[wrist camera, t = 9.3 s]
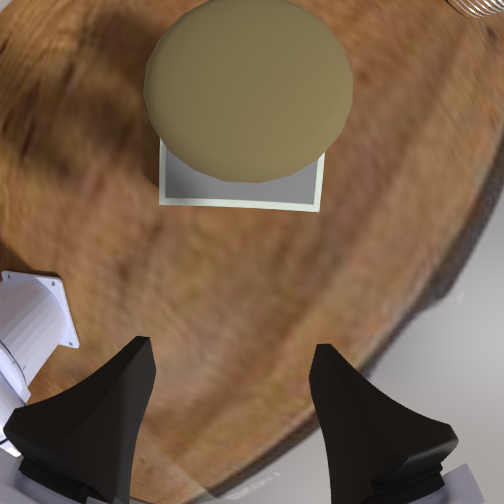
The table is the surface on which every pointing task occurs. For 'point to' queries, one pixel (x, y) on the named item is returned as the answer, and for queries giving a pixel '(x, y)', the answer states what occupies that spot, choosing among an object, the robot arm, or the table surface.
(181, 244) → the table surface
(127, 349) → the robot arm
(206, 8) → the cork
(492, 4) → the water bottle
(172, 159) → the stand
